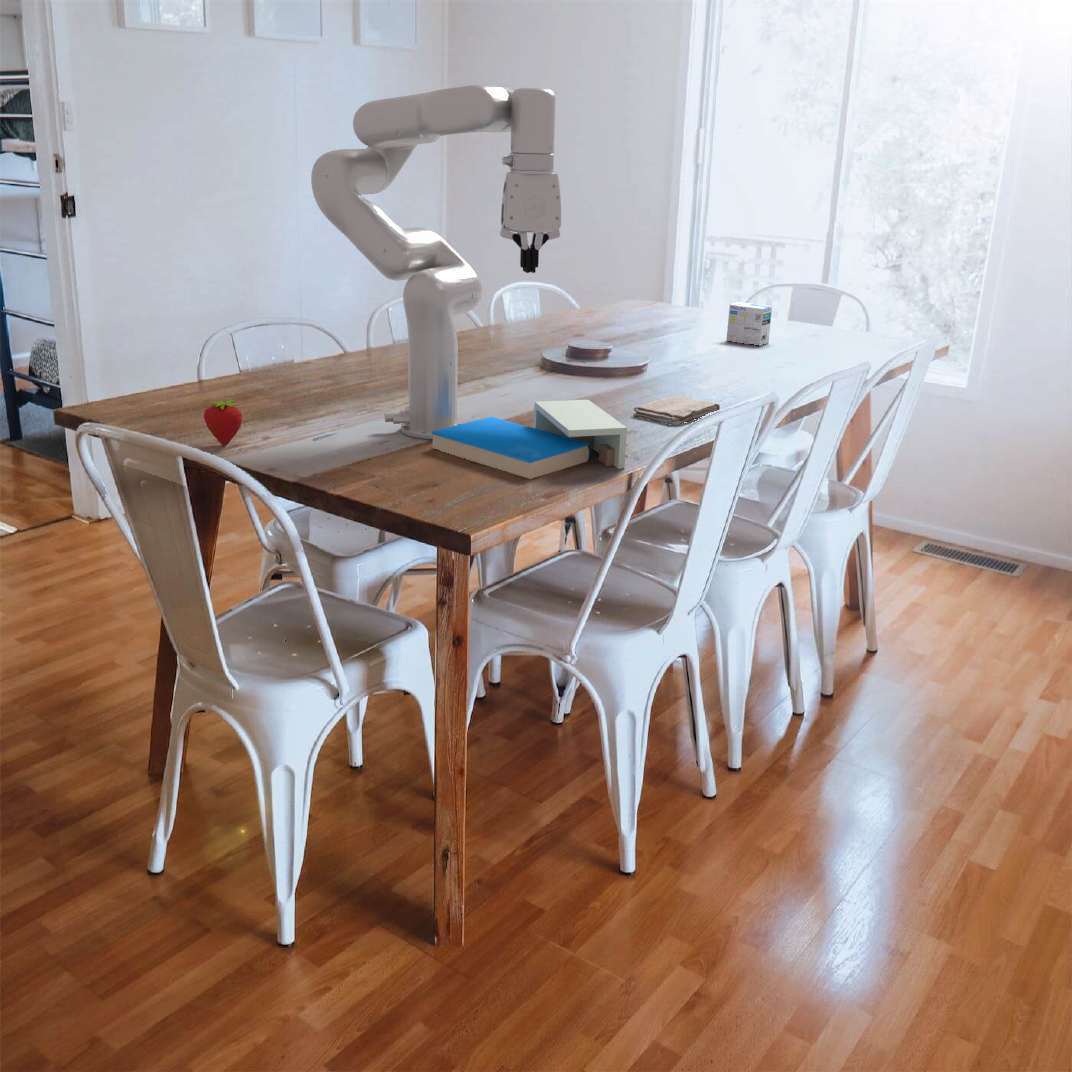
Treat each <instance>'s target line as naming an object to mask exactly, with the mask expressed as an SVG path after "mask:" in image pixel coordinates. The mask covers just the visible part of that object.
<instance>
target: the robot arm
mask: <svg viewBox="0 0 1072 1072" xmlns="http://www.w3.org/2000/svg"><path fill="white" fill-rule="evenodd" d="M555 126H556V95H555V93H554V91H553V90H552V89H548V88H541V87H539V88H538V87H520V88H514V87H508V86H500V85H499V86H498V85H487V84H482V85H481V84H473V85H471V84H470V85H463V86H462V85H461V86H457V87H455V86H454V87H448V88H443V89H438V90H432V91H426V92H422V93H421V92H420V93H417V94H415V93H414V94H410V95H403V96H394V97H388V98H383V99H382V98H381V99H375V100H372V101H368V102H365V103H364V104H362V105H361V106H359V107H358V109H357V111H356V112H355V113H354V116H353V120H352V127H353V128H352V129H353V132H354V134H355V136H356V137H357V139H358V140H359V141H360V143H362V144H363V145H365V146H366V148H341V149H339V148H338V149H335V150H330V151H327V152H325V153H322V155H320V156H319V157H318V158H317V159H316V161H315V162H314V164H313V166H312V170H311V177H310V180H311V190H312V193H313V197H314V201H315V203H316V204H317V206H318V209H319V210H320V211H321V213H322V214H323V215H324V217H325V218H326V219H327V220H328V221H329V222H330V223H331V224H332V225H333V226H334V227H335V228H336V229H337V230H338V231H340V233H342V234H343V235H344V236H345V238H347V239H348V240H349V241H350V242H351V243H352V245H354V247H355V248H356V249H357V250H358V251H359V253H361V254H362V255H363V256H364V257H365V259H367V260H368V261H369V262H370V264H371V265H372V266H374V268H375V269H376V270H377V271H378V272H379V273H380V274H381V275H382V276H383V277H385V278H386V279H388V280H390V281H397V282H398V281H405V280H407V282H406V283H405V285H404V287H403V291H402V292H403V293H402V300H403V307H404V308H403V309H404V314H405V318H406V324H407V327H406V328H407V341H408V342H407V347H408V350H407V351H408V353H407V354H408V357H407V359H408V360H407V361H408V375H407V376H408V379H407V380H408V381H407V382H408V405H406V406H404V410H403V409H402V410H400V412H393V411H391V412H390V411H389V412H388V411H387V412H384V417H383V419H384V422H385V423H393V425H400V432H401V433H402V434H404V435H405V436H408V437H412V438H416V439H422V440H424V439H425V440H433V434H431V431H435V430H439V429H443V428H447V427H451V426H456V425H460V424H463V423H462V422H460V421H458V370H459V369H458V367H459V366H458V363H459V362H458V361H459V360H458V359H459V354H458V353H459V352H458V343H459V342H458V335H457V332H456V329H455V326H454V323H453V319H452V318H453V317H455V316H459V315H462V314H466V313H469V312H470V311H473V310H474V309H475V308H476V307H477V306H478V305H479V303H480V301H481V298H482V295H483V294H482V292H483V290H482V289H483V286H482V283H481V281H480V277H479V275H478V274H477V273H476V272H475V270H474V269H473V268H472V267H471V265H470V264H468V262H466V260H465V259H464V258H463V257H462V256H461V255H460V254H459V253H458V252H457V251H456V250H455V249H454V248H453V247H452V246H450V245H451V244H448V242H447V241H446V240H445V239H443V237H441V236H440V235H439V234H438V233H437V232H434V231H433V230H431V229H428V228H425V227H408V228H405V227H401V226H399V225H397V224H396V223H395V222H394V220H392V219H391V218H390V217H389V216H388V215H387V214H386V213H385V212H384V211H383V210H382V209H381V208H380V207H379V206H378V205H376V204H375V203H373V202H371V201H370V200H368V199H366V198H365V197H364V195H374V194H379V193H382V192H383V191H385V190H386V189H387V188H388V187H390V185H392V183H393V182H394V180H395V179H396V177H398V174H399V173H400V172H401V170H402V168H404V165H405V164H406V162H407V161H408V160H409V158H410V156H412V153H413V152H414V151H415V148H416V147H417V145H422V144H423V145H424V144H425V145H426V144H431V143H435V142H436V141H438V140H439V139H440V137H443V136H444V137H445V136H451V135H458V134H469V133H508V132H510V152H509V154H508V155H507V156H502V158H501V163H502V166H507V167H508V168H509V170H510V171H507V172H506V174H505V178H504V185H503V189H502V190H503V192H502V200H501V210H500V224H501V229H500V232H499V235H500V237H502V238H505V239H508V240H512V241H514V243H515V244H516V245H517V246H518V248H519V249H520V255H519V258H520V259H519V261H520V262H519V263H520V265H519V266H520V268H522V271H523V272H524V273H526V274H530V273H532V274H535V273H536V270H537V269H536V268H538V267H539V262H540V261H539V258H540V254H539V253H540V251H539V250H541V249H542V247H543V246H544V245H545V244H546V242H547V241H550V240H555V239H558V238H560V236H561V233H560V229H561V225H562V203H561V187H560V185H561V184H560V179H559V174H558V173H555V172H554V162H555V161H554V160H555V159H554V158H555V156H554V155H555V152H554V151H555V132H556V131H555V128H556V127H555ZM362 195H363V196H362ZM528 233H532V236H531V242H530V245H529V240H528V238H529V237H528Z"/></svg>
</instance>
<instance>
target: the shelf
mask: <svg viewBox="0 0 1072 1072" xmlns="http://www.w3.org/2000/svg"><path fill="white" fill-rule="evenodd" d="M533 405H534V406H533V407H534V409H533V410H534V411H533V412H534V413H533V428H535V429H539V430H542V431H546V432H550V433H554V434H557V435H561V436H565V437H568V438H572V439H576V440H579V441H583V442H587V443H589V447H590V450H594V451H596V452H597V453H598V461H599V462H601V463H602V464H603V465H604V466H606V467H612V466H614V467H615V468H616V469H617V470H623V468H624V469H625V464H626V463H625V462H626V450H627V434H628V433H627V432H628V427H627V426H626V425H624V424H623V423H621V422H620V421H618V420H617V419H616V418H614V417H613V416H612V415H610V414H609V413H608V412H606V411H605V410H603V409H602V408H601V407H599V406H598V405H597V404H595V403H594V402H592V401H591V400H589V399H568V400H567V399H566V400H545V401H540V400H539V401H534V404H533Z"/></svg>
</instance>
